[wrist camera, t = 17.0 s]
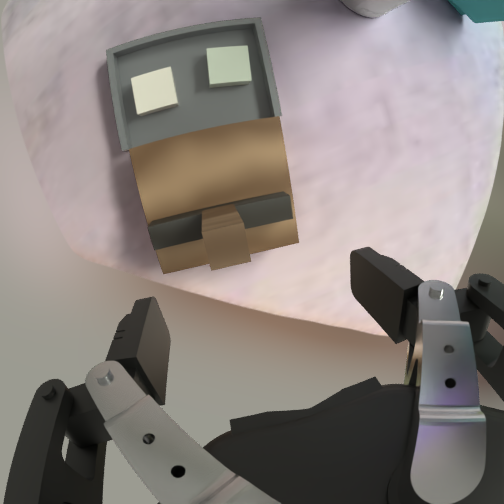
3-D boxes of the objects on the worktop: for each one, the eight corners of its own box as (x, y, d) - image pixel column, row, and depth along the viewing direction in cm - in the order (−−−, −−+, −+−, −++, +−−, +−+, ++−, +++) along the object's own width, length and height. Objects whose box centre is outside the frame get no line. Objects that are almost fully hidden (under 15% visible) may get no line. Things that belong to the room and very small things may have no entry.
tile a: (137, 114, 26) (141, 116, 27) (177, 102, 26) (179, 105, 28) (130, 78, 24) (134, 82, 26) (170, 66, 24) (172, 71, 26)
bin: (112, 56, 24) (106, 50, 22) (256, 25, 26) (260, 17, 24) (127, 150, 29) (121, 151, 27) (276, 117, 31) (281, 115, 28)
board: (139, 148, 29) (128, 149, 25) (268, 120, 31) (279, 116, 26) (168, 257, 35) (163, 274, 30) (286, 230, 36) (299, 242, 31)
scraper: (151, 218, 28) (129, 250, 19) (282, 188, 29) (316, 207, 20) (158, 244, 29) (142, 286, 20) (286, 215, 30) (320, 244, 21)
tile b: (209, 84, 26) (209, 88, 28) (251, 80, 26) (248, 84, 28) (206, 48, 24) (206, 54, 26) (247, 45, 25) (245, 51, 26)
